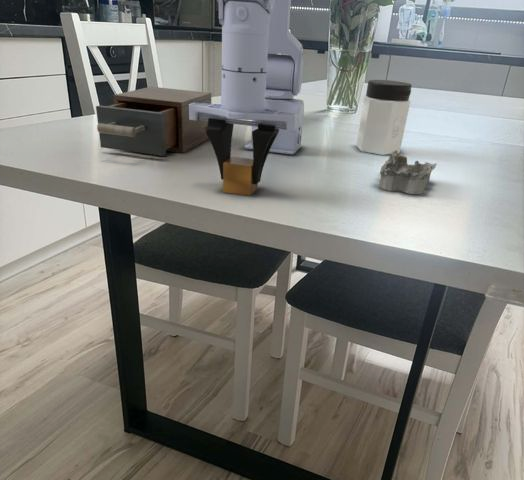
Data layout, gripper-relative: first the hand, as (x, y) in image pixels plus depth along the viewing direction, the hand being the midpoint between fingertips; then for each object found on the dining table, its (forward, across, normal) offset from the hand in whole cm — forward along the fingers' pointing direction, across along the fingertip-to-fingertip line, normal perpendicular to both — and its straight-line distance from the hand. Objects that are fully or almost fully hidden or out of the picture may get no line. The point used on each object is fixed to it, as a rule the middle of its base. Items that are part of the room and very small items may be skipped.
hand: (240, 180), depth 69 cm
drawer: (0, -22, +14) cm, 26 cm away
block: (+1, 0, 0) cm, 1 cm away
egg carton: (+2, +23, +14) cm, 27 cm away
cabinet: (+1, -22, +24) cm, 32 cm away
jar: (+2, +17, +38) cm, 42 cm away
